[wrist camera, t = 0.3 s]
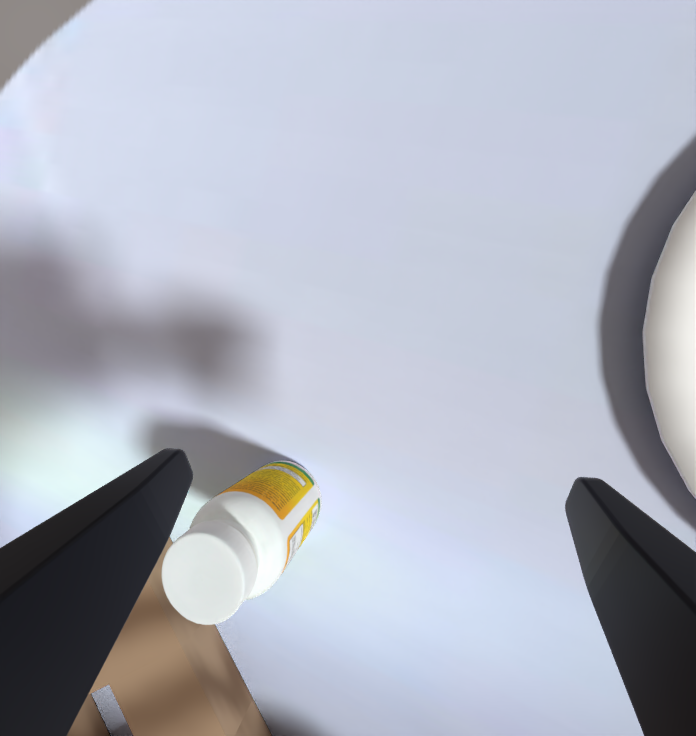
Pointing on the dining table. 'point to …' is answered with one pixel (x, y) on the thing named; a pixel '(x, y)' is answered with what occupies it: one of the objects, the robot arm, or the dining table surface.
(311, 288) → the dining table surface
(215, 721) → the socket block
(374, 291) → the dining table surface
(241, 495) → the supplement bottle
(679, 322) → the plated food
